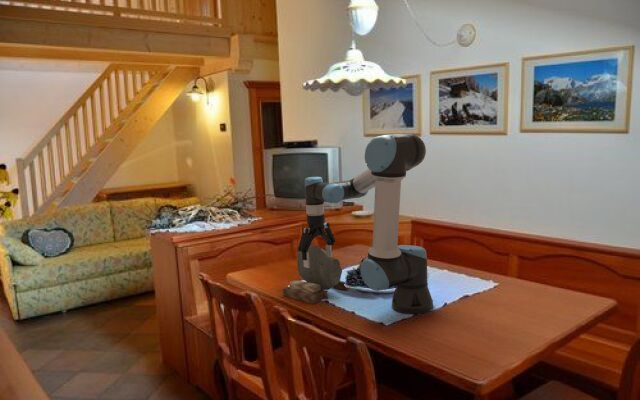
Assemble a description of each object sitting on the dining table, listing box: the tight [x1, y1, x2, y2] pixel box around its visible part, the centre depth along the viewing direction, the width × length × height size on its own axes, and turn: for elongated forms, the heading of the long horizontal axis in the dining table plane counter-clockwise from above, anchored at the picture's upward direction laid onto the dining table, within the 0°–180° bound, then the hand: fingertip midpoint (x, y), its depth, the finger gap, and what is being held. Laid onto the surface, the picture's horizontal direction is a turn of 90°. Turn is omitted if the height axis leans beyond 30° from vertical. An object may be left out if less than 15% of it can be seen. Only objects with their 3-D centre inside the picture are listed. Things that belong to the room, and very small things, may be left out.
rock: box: [296, 244, 343, 291], centre depth 205 cm, size 27×6×20 cm, turn 41°
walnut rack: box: [282, 280, 350, 305], centre depth 204 cm, size 18×21×3 cm
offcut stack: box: [289, 279, 321, 295], centre depth 199 cm, size 14×4×6 cm, turn 50°
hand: (318, 263), depth 205 cm, fingers open, 13 cm apart
